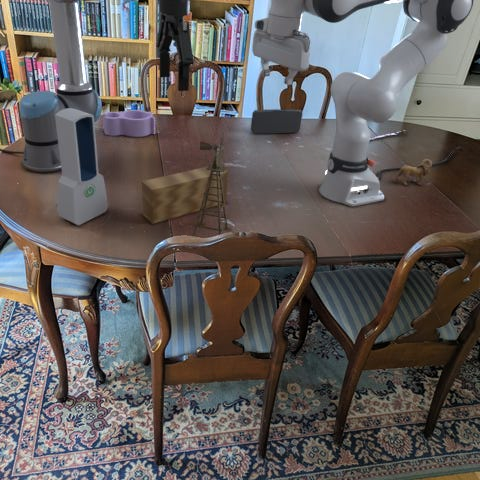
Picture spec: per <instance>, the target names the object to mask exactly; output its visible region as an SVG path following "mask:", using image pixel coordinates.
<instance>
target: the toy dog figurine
mask: <svg viewBox="0 0 480 480" xmlns="http://www.w3.org/2000/svg"><path fill="white" fill-rule="evenodd" d="M432 164H433V162H432V160H431V159H428V158H425V159H422V161H421V163H419V165H417V166H418V167H410V166H411V165H404V166H401V167H402V168H401V169H400V170H398V172H397V174H395V176H394V179H393V182H392V184H395V183H396V182H398V178H399V177H402V176H403V178H402V183H403V185H404V186H408V183H407V182H406V180H407V179H408V178H409V177H413V180H412V182H414V183H416V182H417V184H418V185H420V186H422V181H423V179H424V177H426V176H427V175H428V174H429V173H430V171H431V170H432V167H433V166H432ZM417 178H418V180H417Z"/></svg>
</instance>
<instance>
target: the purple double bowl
mask: <svg viewBox="0 0 480 480" xmlns="http://www.w3.org/2000/svg"><path fill="white" fill-rule="evenodd" d="M102 122H103V131H104V135H107V136H112V137H114V136H127V137H133V138H140V137H141V138H143V137H147V136H149V135H156V116H154V115H153V111H146V110H142V109H141V110H140V109H128V110H124V111H107V112H103V113H102Z"/></svg>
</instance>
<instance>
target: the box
mask: <svg viewBox="0 0 480 480" xmlns="http://www.w3.org/2000/svg"><path fill="white" fill-rule="evenodd" d="M207 167H208V166H203V167H200V168H194V169H191V170H190V169H189V170H186V171H181V172H177V173H172V174H168V175H164V176H159V177H155V178H149V179H147V180H142V181H141V202H142V203H141V205H142V206H141V207H142V216H143V217H144V218H145V219H147V220H148V221H149V222H150V223H151V224H152V225H153V224H157V223H162V222H164V221H168V220H171V219H175V218H179V217H182V216H185V215H189V214H193V213H197V212H200V210H199V209H200V208H201V205H202V203H201V202H202V200H203V198H204V193H205V190H206V187H207V186H206V184H207V183H208V180H209V179H208V177H209V175H210V172H211V170H206V168H207ZM211 168H212V167H211ZM213 173H214V174H216V172H213ZM218 174H219V173H218ZM220 174H221V175H222V176H221V181H222V188H223V196H224V202H225V204H226V203H227V191H228V180H229V171H228V170H226V169H225V171H224V172H220ZM212 178H213V179H217V178H216V175H212ZM218 179H219V176H218ZM218 182H219V188H220V181H218ZM210 186H214V187H217V181H214V180H211V185H210ZM220 192H221V189H219V194H220ZM209 193H210V194H215V195H217V189H216V188H210V189H209ZM205 199H206V198H205ZM208 199H212V200H217V196H212V195H208ZM219 200H220V201H222V196H221V195H220V196H219ZM217 201H218V200H217ZM204 204H205V202H204ZM222 205H223V204H222V203H220V206H222ZM203 206H204V205H203ZM214 207H218V202H214V201H209V200H207V203H206V208H205V209H210V208H214Z"/></svg>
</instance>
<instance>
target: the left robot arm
mask: <svg viewBox="0 0 480 480" xmlns="http://www.w3.org/2000/svg"><path fill="white" fill-rule="evenodd" d="M47 1H48V5H49V12H50V20H51V27H52V33H53V35H52V36H53V43H54V48H55V54H56V55H55V56H56V62H57V71H58V77H59V82H58V83H57V85H55V89H56V92H54V91H51V90H41V91H40V90H37V91H32V92H29V93H26V94H24V95H23V96H22V97H21V98H20V100H19V103H18V104H19V116H20V119H21V126H22V132H23V137H24V148H23V151H13V150H12V151H11V150H5V149H2V148H0V152H3V153H6V154H15V155H16V154H19V155H22V158H21V159H22V160H21V161H22V166H23V168H24V169H25V170H27V171H29V172H33V173H39V174H46V173H56V172H61V171H62V168H61V161H60V153H59V145H58V137H57V129H56V121H55V114H56V113H58V112H59V111H61V110H63V109H67V108H73V109H77V110H80V111H82V112H85V113H88V114H91V115H94V123H96V122H97V121H98V120H99V119H100V118H101V115H102V110H103V106H102V105H103V104H102V99H101V97H99V94H98V92H97V90H95V89H93V85H92V84H91V83H90V82H89V81H88V76H87V69H86V59H85V49H84V42H83V41H84V40H83V33H82V32H83V31H82V23H81V14H80V13H81V12H80V4H79V2H80V0H47ZM158 3H159V4H158V5H159V13H160V16H159V18H160V19H159V20H160V21H159V28H158V34H157V39H156V44H155V45H156V48H157V49H158V52H159V77H160V78H171V53H170V52H172V50H171V46H172V41H173V42H174V44H175V48H176V52H177V56H178V61H179V62H178V63H177V66H178V67H177V91H178V92H188V91H189V90H190V87H189V86H190V66H191V65H194V63H195V61H194V55H193V54H194V53H193V48H192V47H193V46H192V41H191V40H192V39H191V32H190V22H189V21H184V20H185V19H184V17H186V16H189V15H190V11H191V10H190V9H191V8H190V7H191V0H159V1H158Z"/></svg>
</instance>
